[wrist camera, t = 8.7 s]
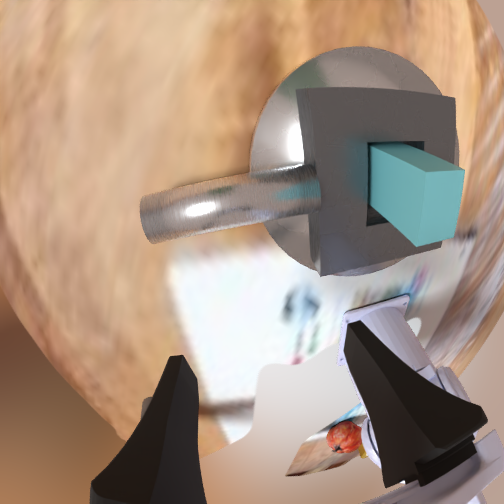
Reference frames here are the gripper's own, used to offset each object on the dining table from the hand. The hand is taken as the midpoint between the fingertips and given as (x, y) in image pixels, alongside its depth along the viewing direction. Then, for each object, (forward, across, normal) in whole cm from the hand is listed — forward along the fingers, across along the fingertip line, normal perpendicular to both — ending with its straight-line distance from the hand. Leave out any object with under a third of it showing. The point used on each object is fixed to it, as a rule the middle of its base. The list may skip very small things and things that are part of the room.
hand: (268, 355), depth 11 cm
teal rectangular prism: (+9, -10, -4) cm, 14 cm away
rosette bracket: (+10, -7, -4) cm, 13 cm away
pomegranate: (+11, -12, +46) cm, 49 cm away
